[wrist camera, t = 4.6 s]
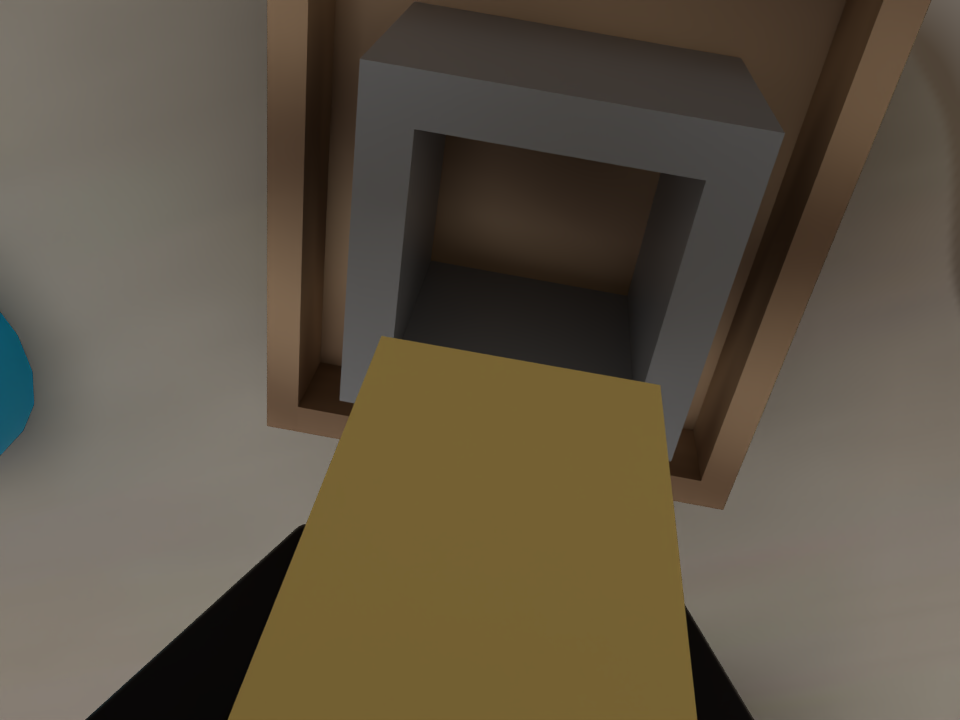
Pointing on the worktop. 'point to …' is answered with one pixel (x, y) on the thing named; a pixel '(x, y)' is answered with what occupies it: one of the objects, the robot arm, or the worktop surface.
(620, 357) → the socket
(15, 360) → the mug
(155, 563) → the worktop surface
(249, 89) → the worktop surface
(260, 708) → the mustard yellow cuboid
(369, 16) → the walled box
